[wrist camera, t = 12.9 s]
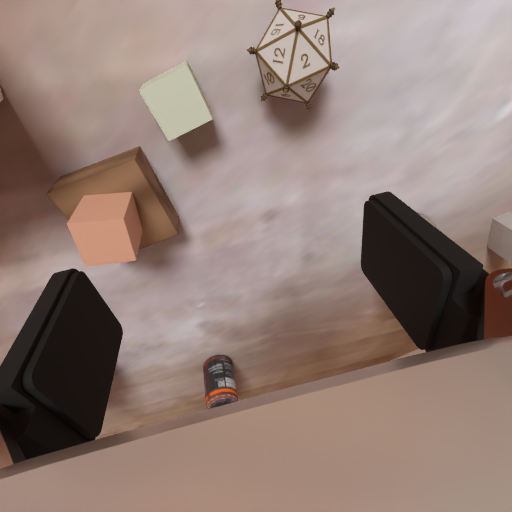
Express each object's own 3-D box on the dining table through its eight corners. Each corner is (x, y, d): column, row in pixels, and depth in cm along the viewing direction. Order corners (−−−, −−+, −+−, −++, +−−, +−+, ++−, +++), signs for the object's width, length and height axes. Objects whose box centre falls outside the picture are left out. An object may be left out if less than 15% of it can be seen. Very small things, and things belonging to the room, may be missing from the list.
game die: (292, 48, 35) (371, 62, 30) (254, 112, 36) (326, 137, 31) (258, -31, 27) (358, -28, 23) (211, 53, 28) (298, 74, 23)
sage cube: (209, 108, 34) (212, 119, 30) (170, 128, 34) (168, 141, 31) (186, 60, 31) (187, 64, 27) (144, 82, 31) (138, 90, 27)
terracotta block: (142, 230, 36) (136, 260, 31) (98, 234, 35) (85, 266, 31) (132, 191, 33) (123, 218, 28) (83, 195, 32) (66, 223, 28)
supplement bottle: (212, 374, 65) (216, 429, 56) (197, 361, 61) (200, 418, 52) (236, 363, 64) (245, 417, 55) (223, 350, 60) (230, 405, 51)
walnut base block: (178, 214, 41) (178, 234, 37) (111, 240, 42) (104, 262, 38) (139, 145, 35) (134, 159, 31) (61, 175, 35) (46, 194, 32)
